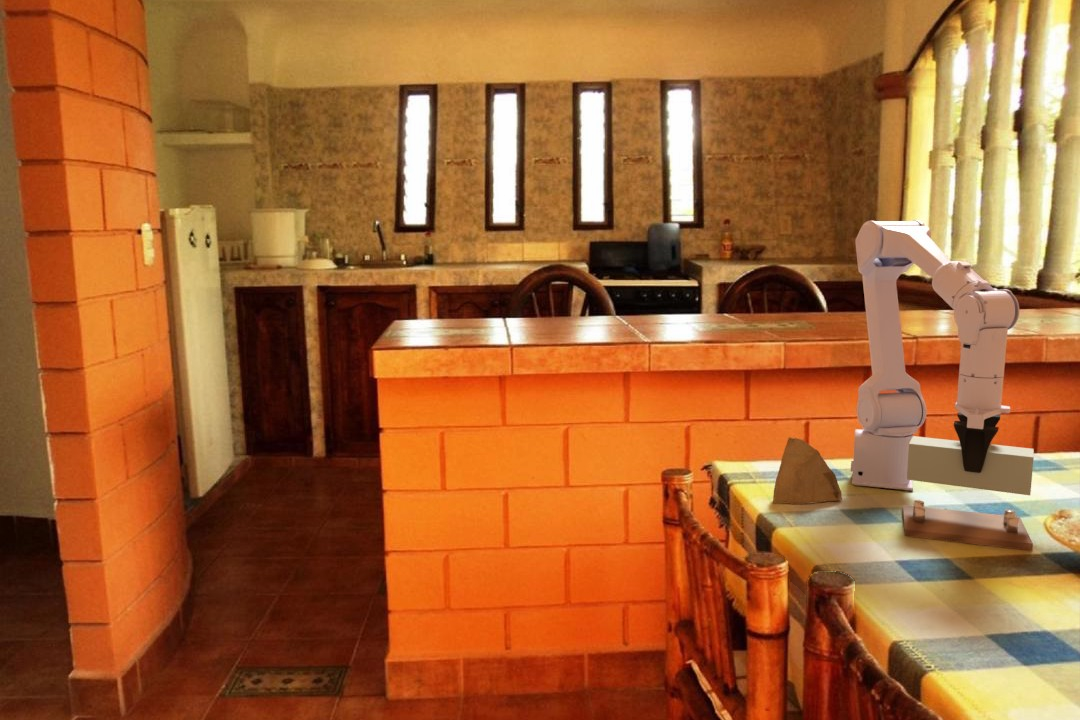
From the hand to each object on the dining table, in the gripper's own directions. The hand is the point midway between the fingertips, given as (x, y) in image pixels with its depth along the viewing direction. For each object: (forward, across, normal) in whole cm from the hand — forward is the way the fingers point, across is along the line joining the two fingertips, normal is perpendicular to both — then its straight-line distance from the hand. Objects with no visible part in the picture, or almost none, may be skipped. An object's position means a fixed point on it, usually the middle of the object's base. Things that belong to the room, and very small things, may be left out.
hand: (973, 466), depth 126 cm
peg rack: (+9, -2, +1) cm, 9 cm away
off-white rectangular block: (+2, 0, +1) cm, 3 cm away
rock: (+9, 0, +23) cm, 25 cm away
